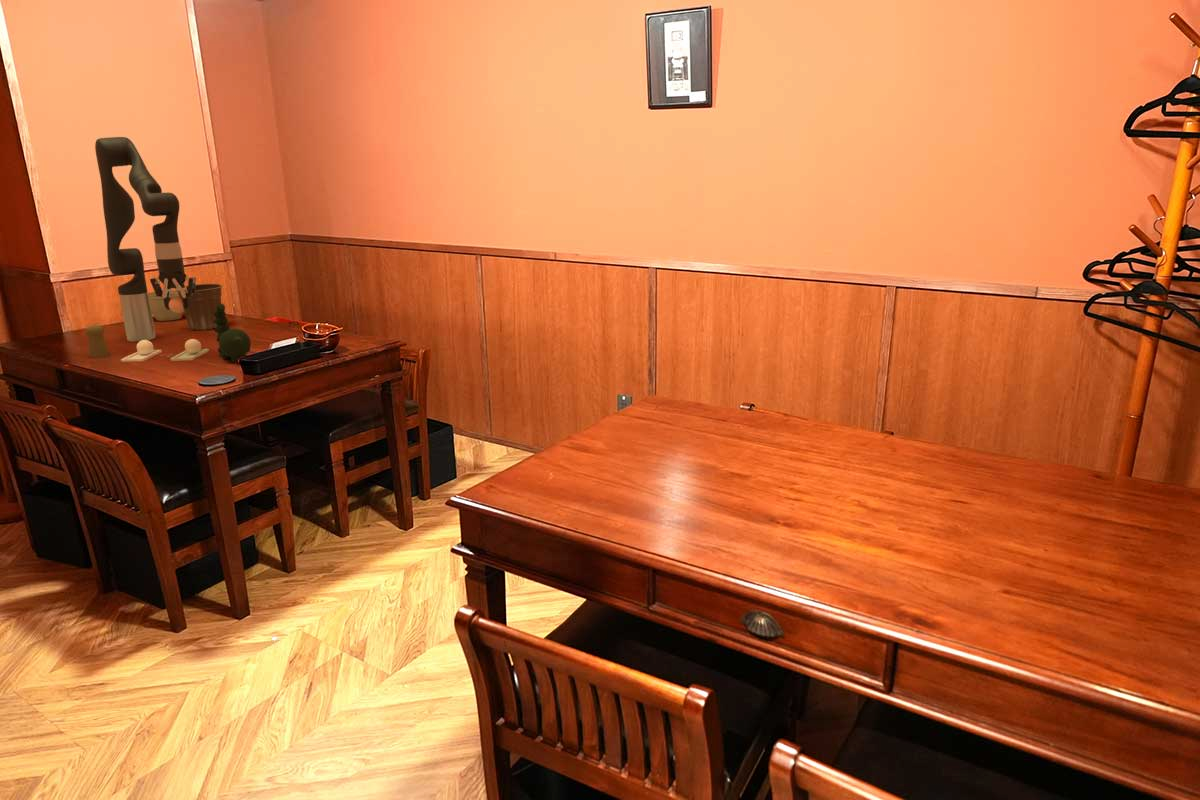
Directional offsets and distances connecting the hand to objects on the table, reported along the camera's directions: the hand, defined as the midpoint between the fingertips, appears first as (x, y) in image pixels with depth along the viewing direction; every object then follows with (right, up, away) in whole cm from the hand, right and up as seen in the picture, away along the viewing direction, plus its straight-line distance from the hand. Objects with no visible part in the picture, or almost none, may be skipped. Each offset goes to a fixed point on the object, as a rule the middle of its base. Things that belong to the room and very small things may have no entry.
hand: (177, 308), depth 265 cm
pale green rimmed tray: (0, -15, +8) cm, 17 cm away
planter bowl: (-42, +4, +73) cm, 84 cm away
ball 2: (0, -1, 0) cm, 1 cm away
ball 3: (0, -14, +11) cm, 18 cm away
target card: (-8, -16, +8) cm, 19 cm away
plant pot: (-18, -1, +55) cm, 58 cm away
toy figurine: (+16, -16, +5) cm, 24 cm away
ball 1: (-16, -14, +10) cm, 24 cm away
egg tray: (-16, -16, +7) cm, 24 cm away
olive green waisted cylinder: (-31, -16, +9) cm, 36 cm away
